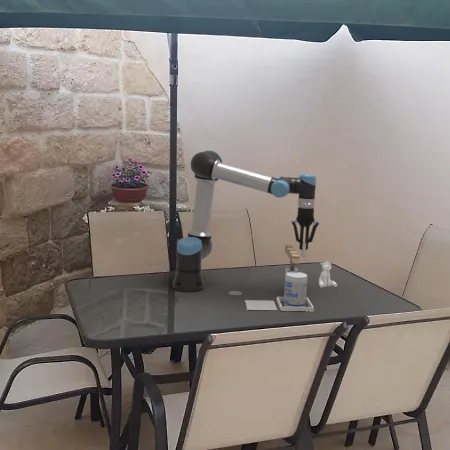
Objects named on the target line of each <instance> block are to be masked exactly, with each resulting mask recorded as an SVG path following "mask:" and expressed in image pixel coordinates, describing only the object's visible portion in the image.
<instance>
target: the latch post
mask: <svg viewBox="0 0 450 450" xmlns="http://www.w3.org/2000/svg"><path fill="white" fill-rule="evenodd" d="M288 272H299V269H298V267H294V269H290V266H289V267H285V276H284V278H286V273H288Z"/></svg>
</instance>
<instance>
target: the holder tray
mask: <svg viewBox="0 0 450 450" xmlns="http://www.w3.org/2000/svg"><path fill="white" fill-rule="evenodd" d="M281 302H282V303H284V296H276V304H277V306H278V308H279V311H280V310H281V311H306V312H305V313H314V311H315V310H314V309H315V308H314V305H313V304H312V302H311V301H310V299H309V298H308V297H307V296H306V302H305V303H306V305H308V306H305V307H285V306H282V303H281ZM281 311H280V312H281ZM308 311H309V312H308Z"/></svg>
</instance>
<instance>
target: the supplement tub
mask: <svg viewBox="0 0 450 450" xmlns="http://www.w3.org/2000/svg"><path fill="white" fill-rule="evenodd" d="M285 274H286V278H285V277H284V278H285V279H284V292H283V293H284V294H283V297H284V302H283V307H306V303H307V302H306V297H307V286H308V275H307V274H306V273H304V272H300V271H298V272H288V273H286V272H285Z"/></svg>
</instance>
